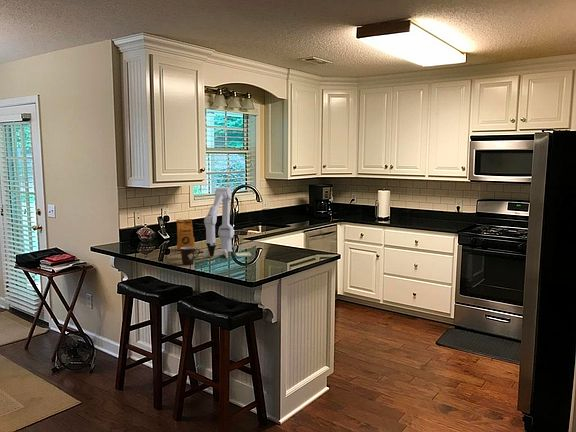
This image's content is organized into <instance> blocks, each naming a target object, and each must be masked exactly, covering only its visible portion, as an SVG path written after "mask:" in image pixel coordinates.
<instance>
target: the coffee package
mask: <svg viewBox="0 0 576 432" xmlns="http://www.w3.org/2000/svg"><path fill="white" fill-rule="evenodd" d="M192 220H193V219H192V218H187V219H185V218H184V219H175V222H176V236H177V239H176V240H177V241H176V249H177V250H178V251H181V250H180V248H182V247H195V245H196V244H195V243H196V242H195V237H194V232H193V231H194V228H193V221H192ZM195 248H196V247H195Z"/></svg>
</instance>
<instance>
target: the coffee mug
mask: <svg viewBox="0 0 576 432" xmlns="http://www.w3.org/2000/svg"><path fill="white" fill-rule="evenodd" d="M197 250H198V253H197V254H196V255H195V252H196V251H197ZM179 251H180V254H181V261H182V266H193V265H194V262H195V260H194V259H196V258H197V257H199V254H200V253H201V251H200V249H199V248H196V247H182V248H180V250H179Z"/></svg>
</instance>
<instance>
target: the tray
mask: <svg viewBox="0 0 576 432" xmlns="http://www.w3.org/2000/svg"><path fill="white" fill-rule="evenodd" d="M235 256H236V257H237V258H240V257H241V258H242V257H252V254H251V253H250V251H248V252H235Z"/></svg>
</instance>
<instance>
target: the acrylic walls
mask: <svg viewBox="0 0 576 432" xmlns="http://www.w3.org/2000/svg"><path fill="white" fill-rule="evenodd" d="M208 253H209V251H208V249H206V250H205V249H204V250H203V257H207V256H208ZM228 254H229V252H227V251H226V250H225V249H223V250H220V249H215V250H214V256H225V258H226V259H228V258H229V255H228ZM208 257H209V256H208Z"/></svg>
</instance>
